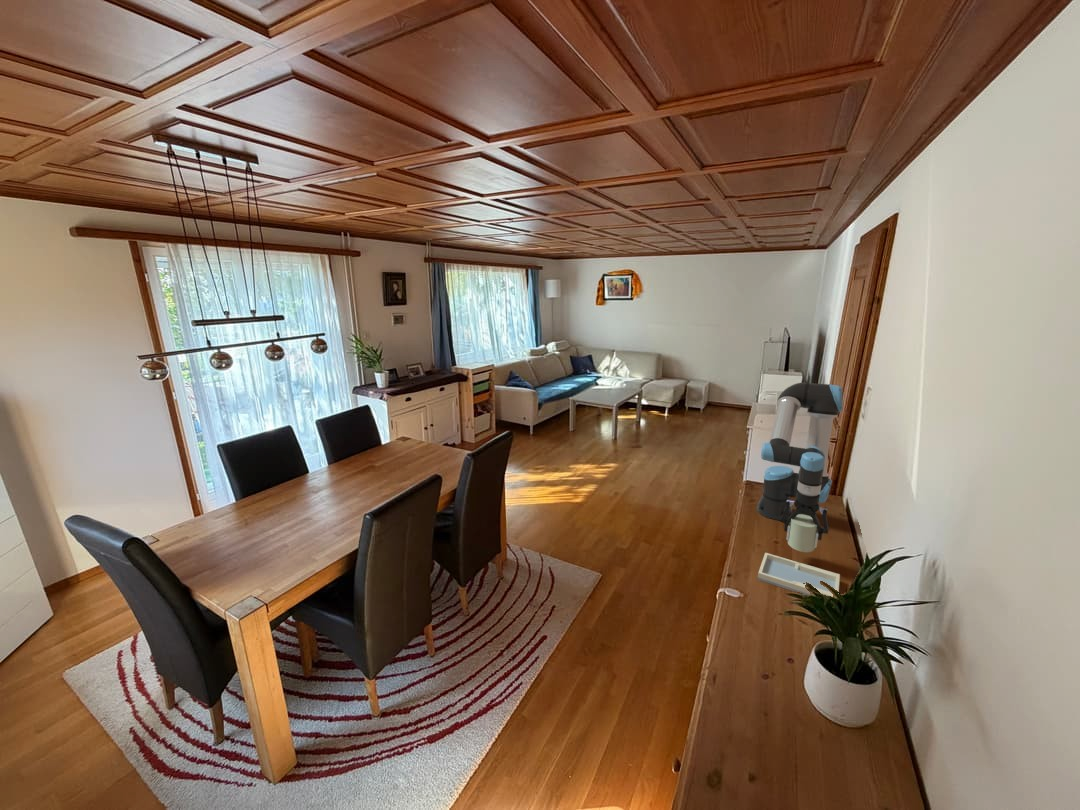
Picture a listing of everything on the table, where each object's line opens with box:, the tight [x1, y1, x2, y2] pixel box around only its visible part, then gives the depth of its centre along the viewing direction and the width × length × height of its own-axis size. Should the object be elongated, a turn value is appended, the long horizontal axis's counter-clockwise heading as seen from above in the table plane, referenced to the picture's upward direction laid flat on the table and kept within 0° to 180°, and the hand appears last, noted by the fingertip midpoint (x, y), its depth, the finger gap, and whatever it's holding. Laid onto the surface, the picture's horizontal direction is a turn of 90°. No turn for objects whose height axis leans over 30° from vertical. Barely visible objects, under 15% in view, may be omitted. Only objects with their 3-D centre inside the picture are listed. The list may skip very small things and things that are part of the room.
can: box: [787, 513, 817, 553], centre depth 167 cm, size 9×9×12 cm
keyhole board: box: [757, 552, 841, 597], centre depth 159 cm, size 15×25×3 cm, turn 54°
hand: (801, 541), depth 168 cm, fingers closed on can, 9 cm apart
